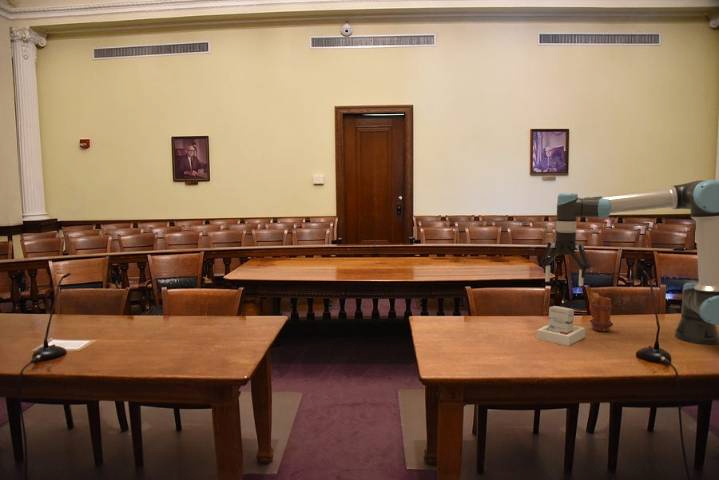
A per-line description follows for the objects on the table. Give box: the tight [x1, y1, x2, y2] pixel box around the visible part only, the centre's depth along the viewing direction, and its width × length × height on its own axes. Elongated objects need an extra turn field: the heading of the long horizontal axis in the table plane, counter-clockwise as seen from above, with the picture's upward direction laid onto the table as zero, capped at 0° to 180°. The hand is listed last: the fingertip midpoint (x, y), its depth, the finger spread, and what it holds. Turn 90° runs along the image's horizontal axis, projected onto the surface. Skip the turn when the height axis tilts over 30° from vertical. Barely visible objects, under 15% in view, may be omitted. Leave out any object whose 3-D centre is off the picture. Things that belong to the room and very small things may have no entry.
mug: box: [588, 292, 614, 333], centre depth 217 cm, size 15×8×15 cm, turn 179°
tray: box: [536, 324, 586, 347], centre depth 204 cm, size 13×17×4 cm
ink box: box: [547, 305, 575, 335], centre depth 204 cm, size 8×5×12 cm, turn 41°
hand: (563, 283), depth 202 cm, fingers open, 13 cm apart
